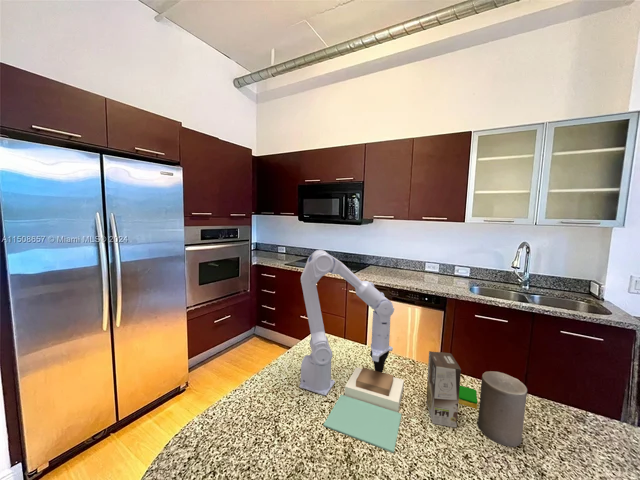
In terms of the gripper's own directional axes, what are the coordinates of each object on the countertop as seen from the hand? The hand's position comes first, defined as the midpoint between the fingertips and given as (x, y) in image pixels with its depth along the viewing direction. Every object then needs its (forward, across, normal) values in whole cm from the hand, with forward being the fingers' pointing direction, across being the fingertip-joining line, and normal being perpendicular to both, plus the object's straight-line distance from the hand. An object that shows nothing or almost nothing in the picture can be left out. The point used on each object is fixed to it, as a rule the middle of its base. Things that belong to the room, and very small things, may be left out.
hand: (378, 372), depth 88 cm
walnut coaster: (+1, -6, 0) cm, 6 cm away
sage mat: (+4, -19, 0) cm, 19 cm away
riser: (+4, -6, 0) cm, 7 cm away
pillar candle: (+4, -7, -33) cm, 34 cm away
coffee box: (+4, -7, -19) cm, 20 cm away
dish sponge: (+4, +4, -22) cm, 23 cm away
